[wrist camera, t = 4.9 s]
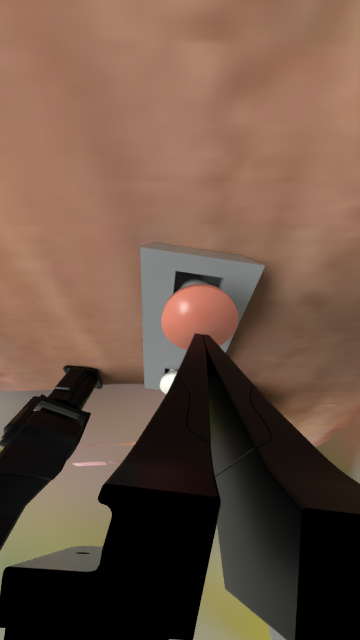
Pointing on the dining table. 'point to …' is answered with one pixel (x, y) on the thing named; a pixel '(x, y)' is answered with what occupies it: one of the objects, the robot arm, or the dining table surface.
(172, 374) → the white plunger
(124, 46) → the dining table surface
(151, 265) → the block
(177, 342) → the red plunger
